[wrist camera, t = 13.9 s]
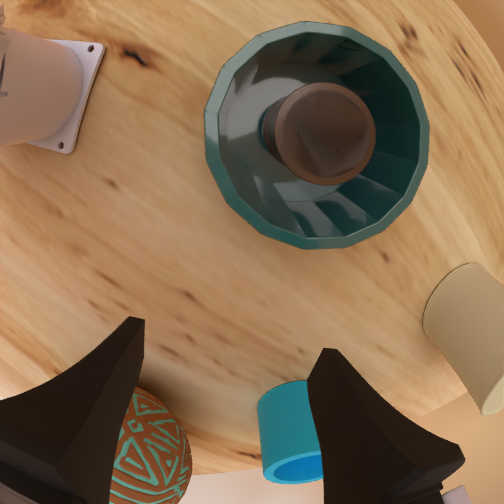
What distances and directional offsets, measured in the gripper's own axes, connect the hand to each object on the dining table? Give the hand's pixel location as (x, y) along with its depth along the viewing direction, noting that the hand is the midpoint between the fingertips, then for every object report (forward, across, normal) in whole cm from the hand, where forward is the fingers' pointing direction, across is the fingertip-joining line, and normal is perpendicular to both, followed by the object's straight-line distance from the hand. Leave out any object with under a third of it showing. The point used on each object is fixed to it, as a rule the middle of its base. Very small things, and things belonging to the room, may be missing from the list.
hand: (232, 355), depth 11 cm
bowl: (+10, -2, -9) cm, 14 cm away
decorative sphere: (+11, +8, +19) cm, 23 cm away
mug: (+11, -11, +15) cm, 21 cm away
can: (+11, -23, +1) cm, 25 cm away
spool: (+10, -2, -9) cm, 13 cm away
